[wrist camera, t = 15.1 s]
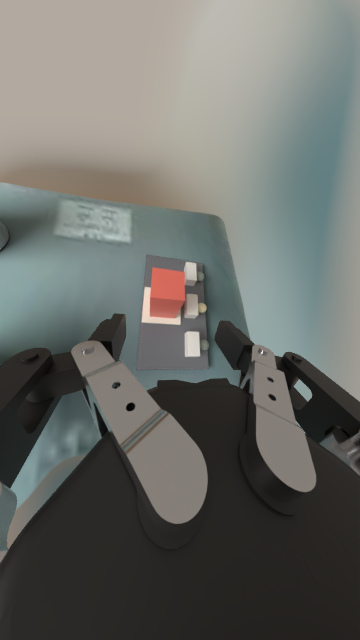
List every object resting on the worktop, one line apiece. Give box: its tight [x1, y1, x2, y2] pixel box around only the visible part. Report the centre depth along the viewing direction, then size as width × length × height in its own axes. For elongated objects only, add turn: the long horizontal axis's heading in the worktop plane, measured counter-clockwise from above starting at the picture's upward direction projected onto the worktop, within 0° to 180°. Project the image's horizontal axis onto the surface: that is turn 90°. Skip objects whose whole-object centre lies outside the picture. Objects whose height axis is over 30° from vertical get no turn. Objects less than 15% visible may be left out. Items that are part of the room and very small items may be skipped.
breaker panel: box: [136, 255, 209, 370], centre depth 25 cm, size 12×22×3 cm, turn 179°
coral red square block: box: [150, 267, 185, 319], centre depth 21 cm, size 4×4×8 cm
